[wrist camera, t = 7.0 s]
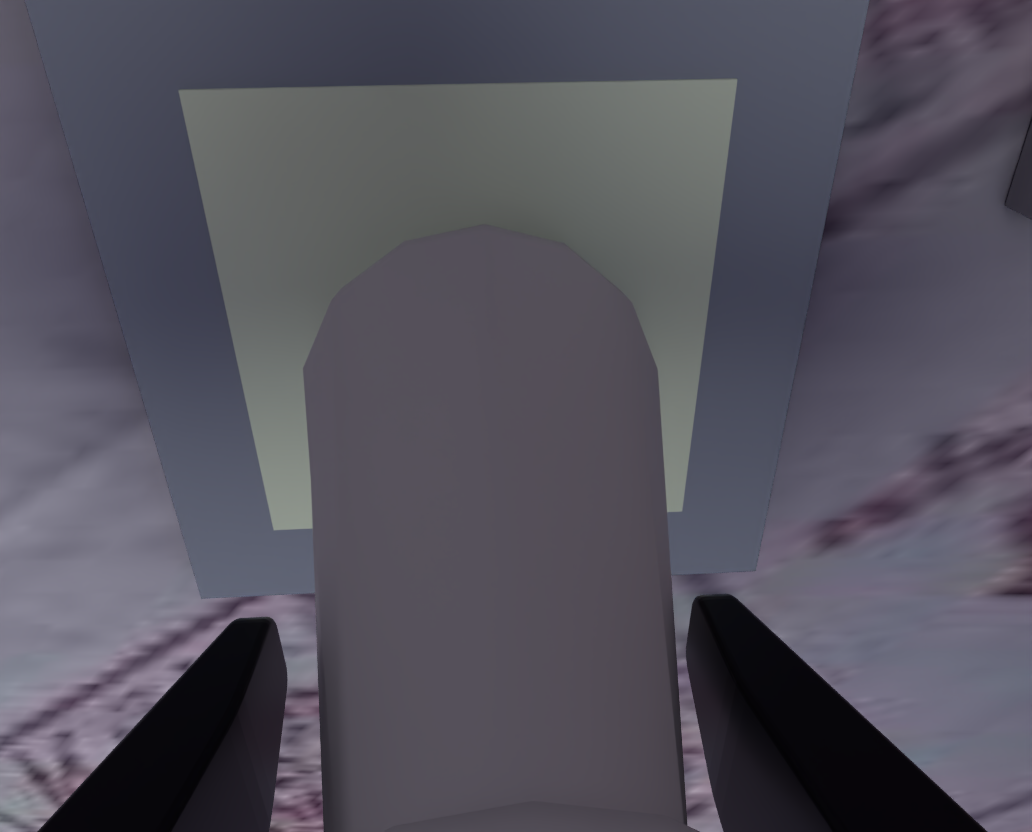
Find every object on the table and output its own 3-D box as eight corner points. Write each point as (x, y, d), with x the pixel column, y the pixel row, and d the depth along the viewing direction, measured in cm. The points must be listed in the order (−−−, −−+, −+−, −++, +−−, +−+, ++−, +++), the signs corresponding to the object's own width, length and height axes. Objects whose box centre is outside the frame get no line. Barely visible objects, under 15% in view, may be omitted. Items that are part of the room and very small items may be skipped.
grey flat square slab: (750, 559, 19) (756, 573, 19) (206, 586, 19) (199, 601, 18) (870, -65, 13) (885, -65, 12) (21, -56, 12) (5, -55, 12)
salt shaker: (453, 506, 17) (450, 1523, 6) (258, 316, 15) (-322, 1481, 4) (685, 357, 16) (1214, 1367, 5) (512, 115, 13) (800, 1106, 2)
